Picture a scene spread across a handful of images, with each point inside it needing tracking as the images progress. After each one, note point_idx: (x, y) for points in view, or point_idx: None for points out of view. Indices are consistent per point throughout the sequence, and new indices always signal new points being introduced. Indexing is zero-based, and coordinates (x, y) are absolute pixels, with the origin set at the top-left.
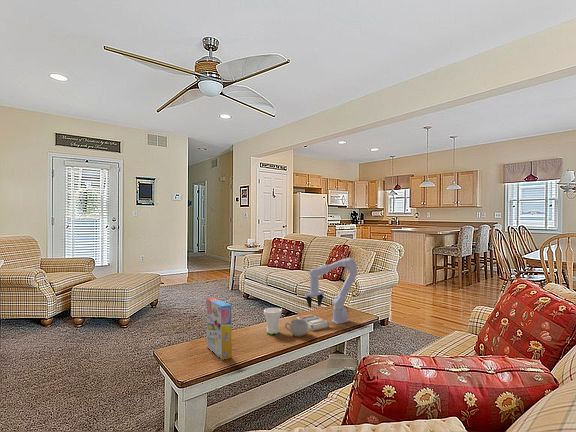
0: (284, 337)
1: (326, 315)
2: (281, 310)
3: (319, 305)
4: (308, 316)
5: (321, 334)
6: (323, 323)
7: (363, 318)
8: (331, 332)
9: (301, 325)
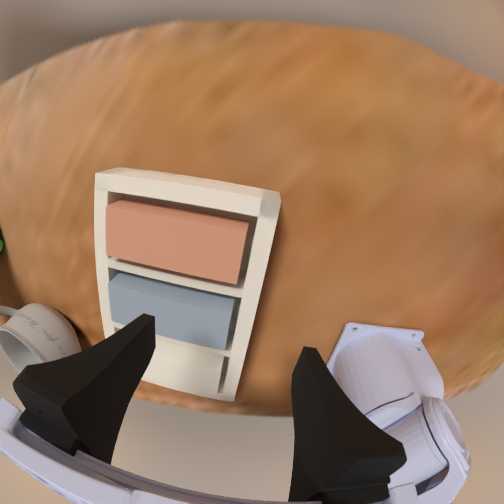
0: (13, 302)
1: (441, 212)
2: None
3: (293, 378)
4: (167, 269)
5: (142, 392)
6: (191, 392)
7: (464, 375)
8: (196, 409)
9: None
